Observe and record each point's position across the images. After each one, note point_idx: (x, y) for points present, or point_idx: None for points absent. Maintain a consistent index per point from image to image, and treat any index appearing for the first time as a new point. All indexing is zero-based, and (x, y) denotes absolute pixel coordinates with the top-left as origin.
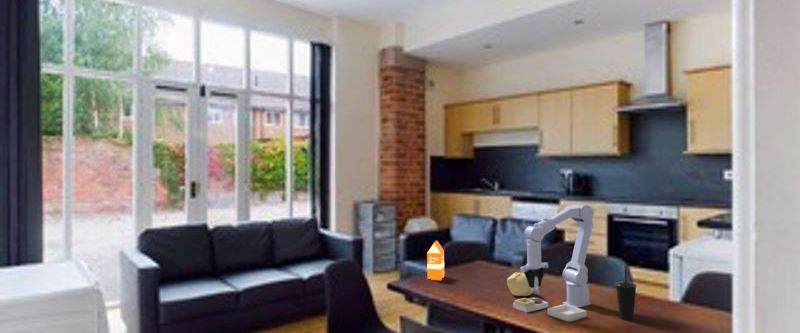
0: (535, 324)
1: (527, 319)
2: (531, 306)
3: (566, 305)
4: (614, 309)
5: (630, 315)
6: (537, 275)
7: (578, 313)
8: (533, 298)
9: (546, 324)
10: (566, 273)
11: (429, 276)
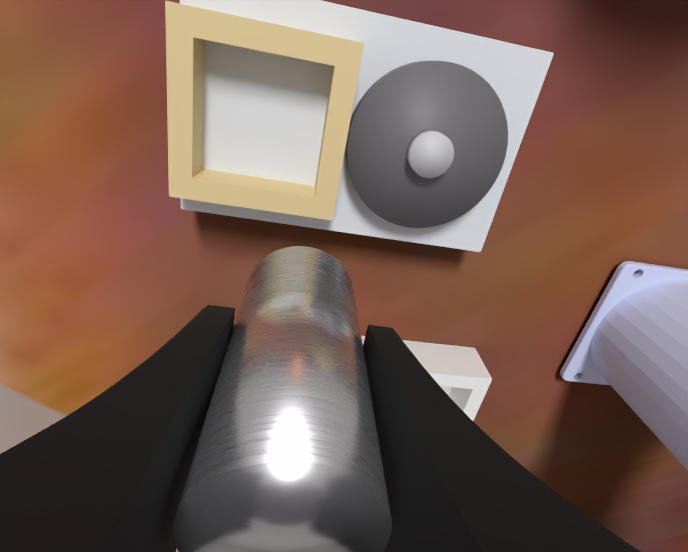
0: (56, 380)
1: (73, 295)
2: (256, 217)
3: (468, 395)
4: (647, 481)
5: None
6: (400, 542)
7: None
8: (410, 151)
9: None
10: None
11: None
